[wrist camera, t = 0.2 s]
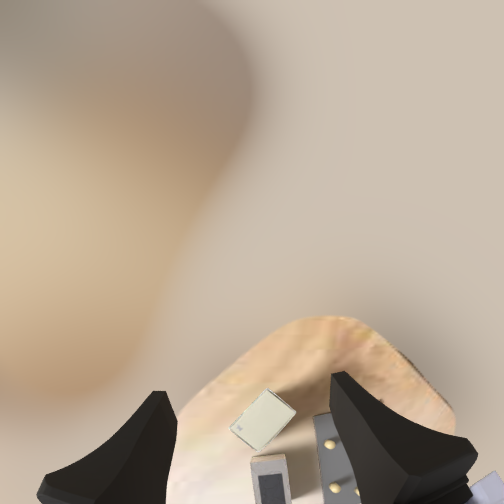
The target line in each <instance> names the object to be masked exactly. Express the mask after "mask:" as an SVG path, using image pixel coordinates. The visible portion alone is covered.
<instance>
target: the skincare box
mask: <svg viewBox="0 0 504 504" xmlns="http://www.w3.org/2000/svg"><path fill="white" fill-rule="evenodd" d="M295 414H296V411H295V410H294V409H293V408H292V407H290V406H289V405H288V404H287V403H286V402H285V401H283V400H282V399H281V398H280V397H279V396H277V395H276V394H275V393H274V392H272V391H271V390H270V389H269V388H267V389H265V390H264V391H263V392H262V393H261V394H260V395H259V396H258V398H257V399H256V400H255V401H254V402H253V403H252V404H251V405H250V406H249V407H248V408H247V409H246V410H245V411H244V412H243V413H242V414H241V415H240V416H239V417H238V418H237V419H236V420H235V422H234V423H233V424H232V425H231V426H230V427H229V429H230V430H231V431H232V432H233V433H234V434H235V435H236V436H237V437H239V438H240V439H241V440H242V441H243V442H245V443H246V444H247V445H248V446H250V447H251V448H252V449H254V450H255V451H256V452H260V451H261V450H262V449H263V448H265V447H266V446H267V445H268V444H269V443H270V442H271V441H272V440H273V439H274V438H275V437H276V436H277V435H278V434H279V432H280V431H281V430H282V429H283V428H284V427H285V426H286V425H287V423H288V422H289V421H290V420H291V419H292V417H293V416H294V415H295Z"/></svg>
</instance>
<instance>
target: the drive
mask: <svg viewBox="0 0 504 504" xmlns="http://www.w3.org/2000/svg"><path fill="white" fill-rule="evenodd" d="M250 466H251V473H252V481H253V489H254V496H255V503H256V504H292V501H291V493H290V485H289V477H288V469H287V461H286V457H285V455H284V453H283V454H276V455H267V456H258V457H252V459H251V462H250Z"/></svg>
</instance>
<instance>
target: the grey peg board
mask: <svg viewBox="0 0 504 504" xmlns="http://www.w3.org/2000/svg"><path fill="white" fill-rule="evenodd" d="M313 420H314V427H315V434H316V441H317V449H318V457H319V465H320V473H321V481H322V490H323V499H324V504H360V503H361V499H360V495H359V491H358V487H357V483H356V479H355V476H354V472H353V469H352V466H351V463H350V460H349V458H348V456H347V453H346V451H345V448H344V446H343V444H342V441H341V439H340V437H339V434H338V432H337V430H336V427H335V425H334V421H333V418H332V414H331V413H328V414H323V415H318V416H313Z"/></svg>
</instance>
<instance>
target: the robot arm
mask: <svg viewBox="0 0 504 504" xmlns="http://www.w3.org/2000/svg"><path fill="white" fill-rule="evenodd" d="M329 406H330V410H331V414H332V418H333V421H334V425H335V427H336V430H337V432H338V434H339V437H340V439H341V441H342V444H343V446H344V448H345V451H346V453H347V456H348V458H349V460H350V463H351V466H352V469H353V472H354V476H355V479H356V483H357V487H358V491H359V495H360V499H361V504H504V483H503V481H502V480H501V478H500V477H499V476H498V474H497V472H496V471H493V472H491V473H490V474H488V475H487V476H485V477H484V478H482V479H481V480H479V481H478V482H476V483H475V484H473V485H472V486H471V487H470V488H469V487H468V485H467V484H466V483H468V481H469V479H468V478H467V476H466V474H467V472H468V471H469V470H470V468H471V467H472V466H473V464H474V463H475V461H476V460H477V457H478V453H477V451H476V450H475V448H474V447H473V445H472V444H471V443H470V441H469V440H468V439H467V438H462V437H457V436H453V435H448V434H444V433H441V432H437V431H434V430H431V429H429V428H426V427H424V426H421V425H419V424H417V423H414V422H412V421H410V420H408V419H406V418H404V417H403V416H401V415H399V414H397V413H396V412H394V411H393V410H391V409H390V408H388V407H387V406H385V405H384V404H382V403H381V402H380V401H378V400H377V399H376V398H375V397H373V396H372V395H371V394H370V393H369V392H367V391H366V390H365V389H364V388H363V387H362V386H360V385H359V384H358V383H357V382H356V381H355V380H354V379H353V378H352V377H351V376H350V375H349V374H348V373H347V372H345V371H342V372H337V373H333V374H331V386H330V403H329ZM177 422H178V421H177V419H176V416H175V414H174V411H173V409H172V406H171V404H170V401H169V398H168V396H167V393H166V391H153V392H152V393H151V394H150V395H149V396H148V397H147V399H146V400H145V401H144V402H143V404H142V405H141V406H140V407H139V408H138V409H137V411H136V412H135V413H134V414H133V415H132V416H131V418H130V419H129V420H128V421H127V422H126V423H125V424H124V425H123V426H122V427H121V428H120V429H119V430H118V431H117V432H116V433H115V434H114V435H113V436H112V437H111V438H110V439H109V440H107V441H106V442H105V443H104V444H102V445H101V446H100V447H99V448H97V449H96V450H94V451H93V452H91V453H90V454H88V455H87V456H85V457H84V458H82V459H80V460H79V461H77V462H75V463H73V464H71V465H69V466H67V467H65V468H62V469H60V470H57V471H55V472H52V473H49V474H46V475H45V477H44V479H43V481H42V483H41V486H40V488H39V490H38V492H37V498H38V499H39V501H40V502H41V503H42V504H166V489H167V481H168V475H169V471H170V466H171V461H172V457H173V452H174V448H175V443H176V436H177Z"/></svg>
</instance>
